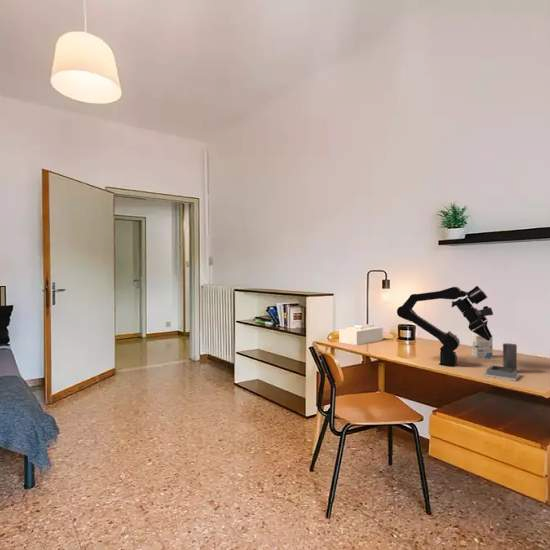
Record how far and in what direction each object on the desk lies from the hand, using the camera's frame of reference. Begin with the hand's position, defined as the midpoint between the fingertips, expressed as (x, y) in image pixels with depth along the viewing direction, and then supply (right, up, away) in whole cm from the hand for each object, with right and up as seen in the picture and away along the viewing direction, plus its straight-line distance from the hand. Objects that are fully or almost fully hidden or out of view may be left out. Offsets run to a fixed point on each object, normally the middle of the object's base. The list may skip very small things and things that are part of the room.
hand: (490, 338), depth 179 cm
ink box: (+10, -14, +26) cm, 31 cm away
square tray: (-1, -14, -11) cm, 18 cm away
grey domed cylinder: (+7, -14, -3) cm, 16 cm away
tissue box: (-42, -14, +74) cm, 86 cm away
